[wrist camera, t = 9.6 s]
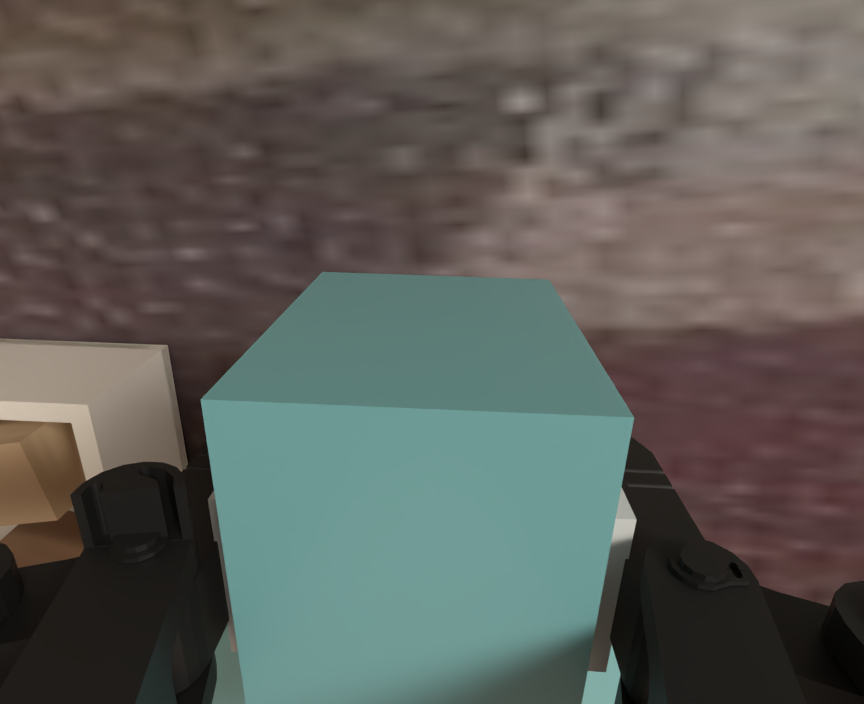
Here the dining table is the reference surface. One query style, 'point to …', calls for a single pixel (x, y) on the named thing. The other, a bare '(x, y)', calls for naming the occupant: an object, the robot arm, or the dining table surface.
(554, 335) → the lid
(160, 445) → the tub
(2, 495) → the block
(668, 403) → the dining table surface
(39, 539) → the block
